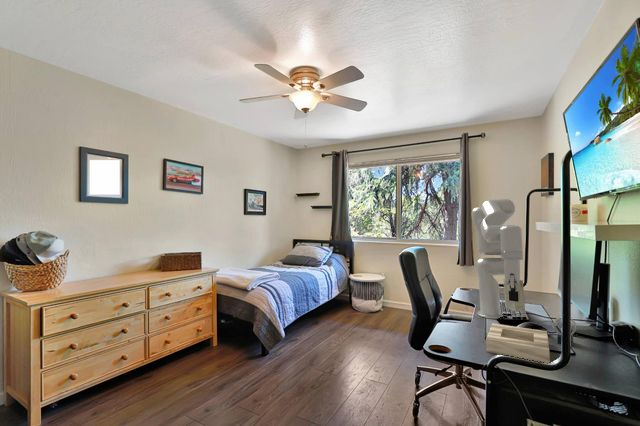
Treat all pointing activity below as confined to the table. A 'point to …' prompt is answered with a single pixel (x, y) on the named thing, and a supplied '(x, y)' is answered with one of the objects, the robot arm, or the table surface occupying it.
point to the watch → (560, 333)
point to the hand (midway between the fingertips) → (514, 298)
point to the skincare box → (521, 303)
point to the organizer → (518, 342)
